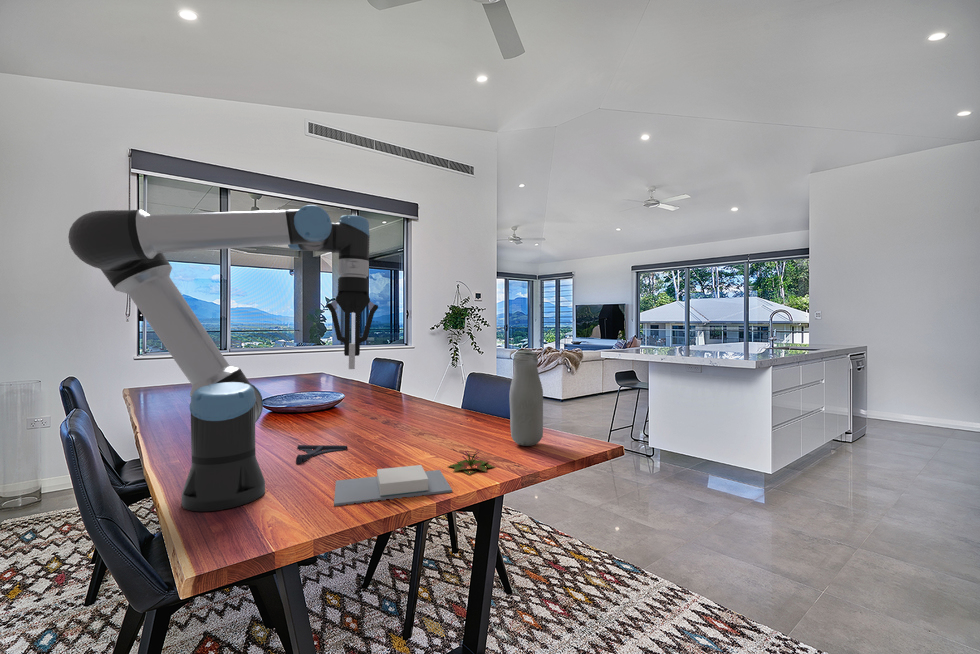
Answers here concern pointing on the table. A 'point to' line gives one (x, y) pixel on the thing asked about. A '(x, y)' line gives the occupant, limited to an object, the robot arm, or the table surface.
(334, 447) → the bracket
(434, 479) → the mat
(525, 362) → the grey bottle
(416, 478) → the tile
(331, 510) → the table surface
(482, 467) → the lily flower
